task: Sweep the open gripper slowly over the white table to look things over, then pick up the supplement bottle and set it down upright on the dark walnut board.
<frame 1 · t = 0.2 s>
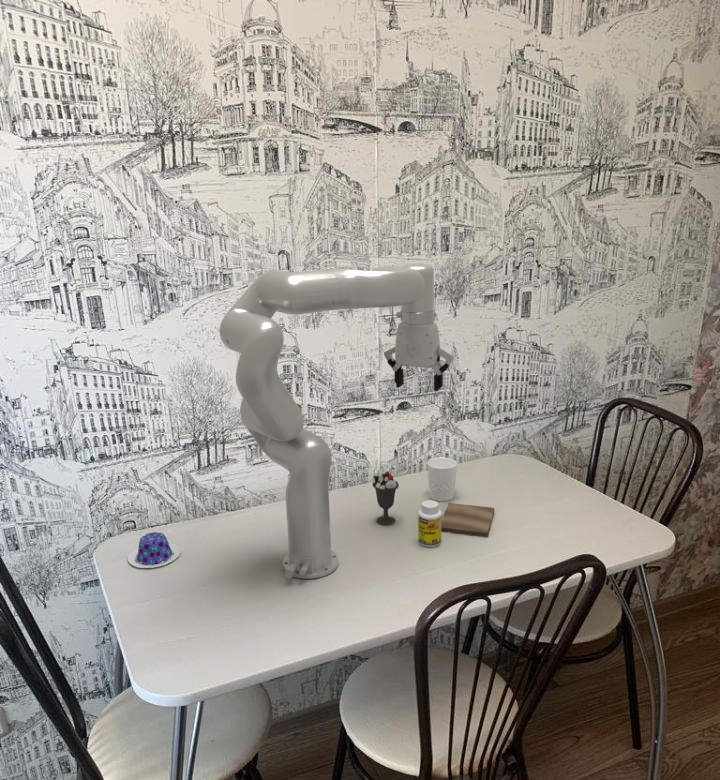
hand: (418, 387, 164), 36 cm above the table, tool pointing down, fingers open, 9 cm apart
supplement bottle: (429, 543, 164), on the table
walnut board: (467, 521, 174), on the table
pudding: (154, 558, 161), on the table
sundae: (386, 521, 175), on the table
white cup: (441, 497, 188), on the table
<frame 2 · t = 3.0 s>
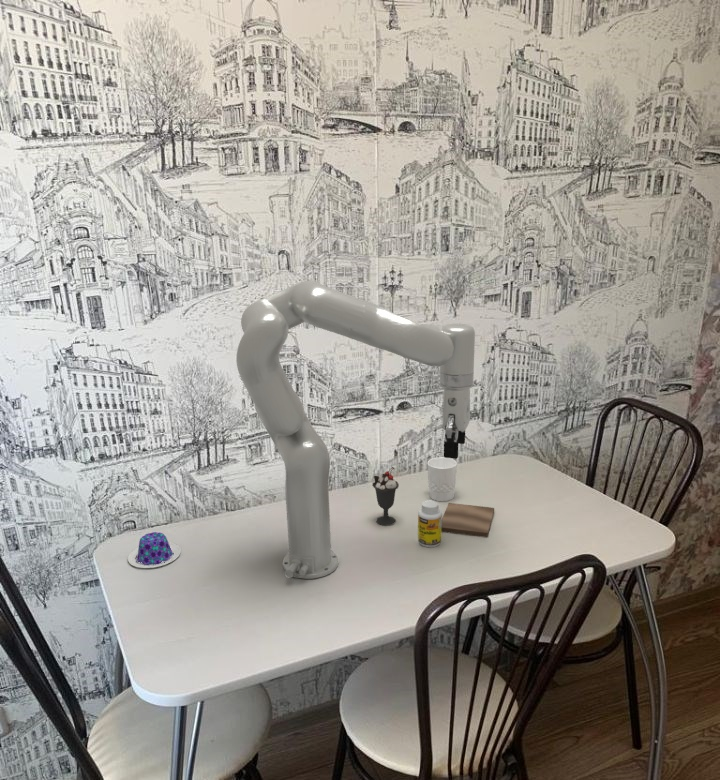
hand: (454, 450, 158), 23 cm above the table, tool pointing down, fingers open, 9 cm apart
nothing on the table moved.
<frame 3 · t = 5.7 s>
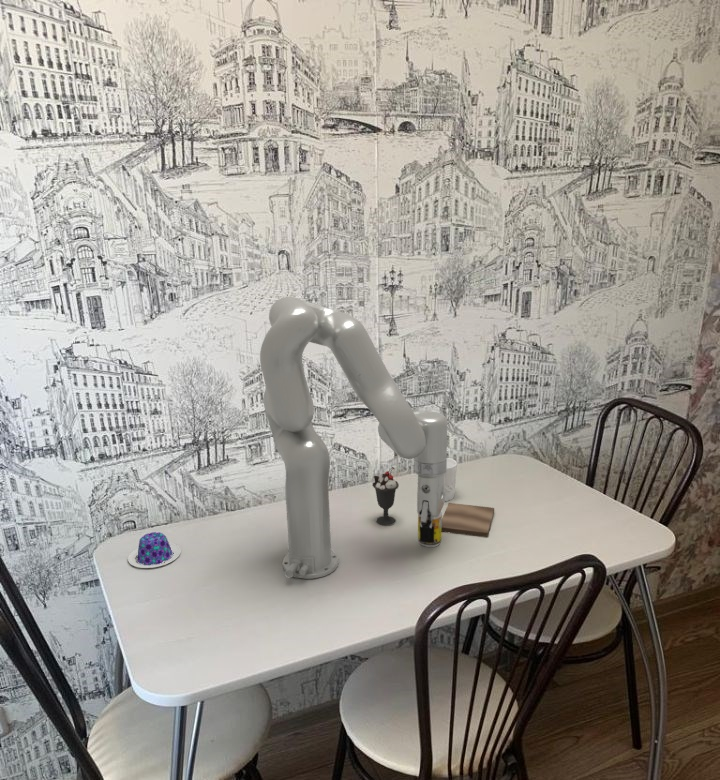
hand: (429, 534, 163), 2 cm above the table, tool pointing down, fingers closed on supplement bottle, 5 cm apart
supplement bottle: (429, 543, 164), on the table, touching gripper
everything else where it was.
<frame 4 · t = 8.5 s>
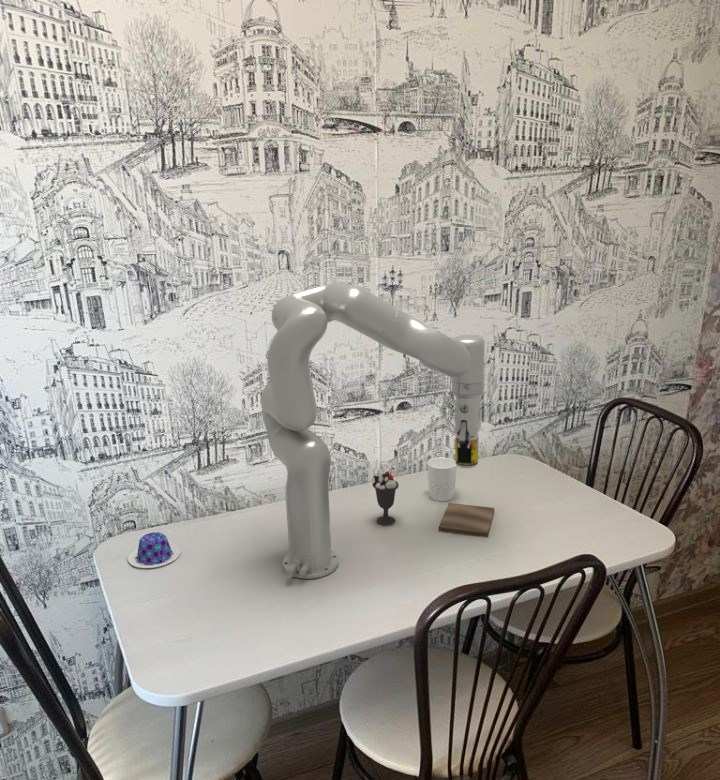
hand: (466, 457, 168), 18 cm above the table, tool pointing down, fingers closed on supplement bottle, 5 cm apart
supplement bottle: (466, 465, 168), point 16 cm above the table, touching gripper
everything else where it was.
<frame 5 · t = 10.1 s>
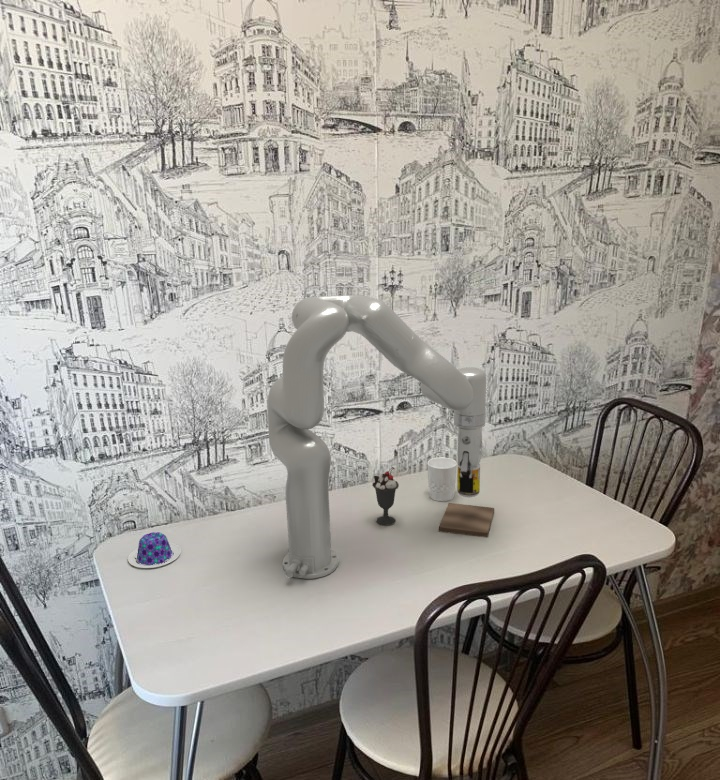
hand: (468, 486, 171), 10 cm above the table, tool pointing down, fingers closed on supplement bottle, 5 cm apart
supplement bottle: (468, 494, 171), point 8 cm above the table, touching gripper
when the fingers open (5 cm above the table, at t = 11.5 s): supplement bottle drops 1 cm, resting on walnut board.
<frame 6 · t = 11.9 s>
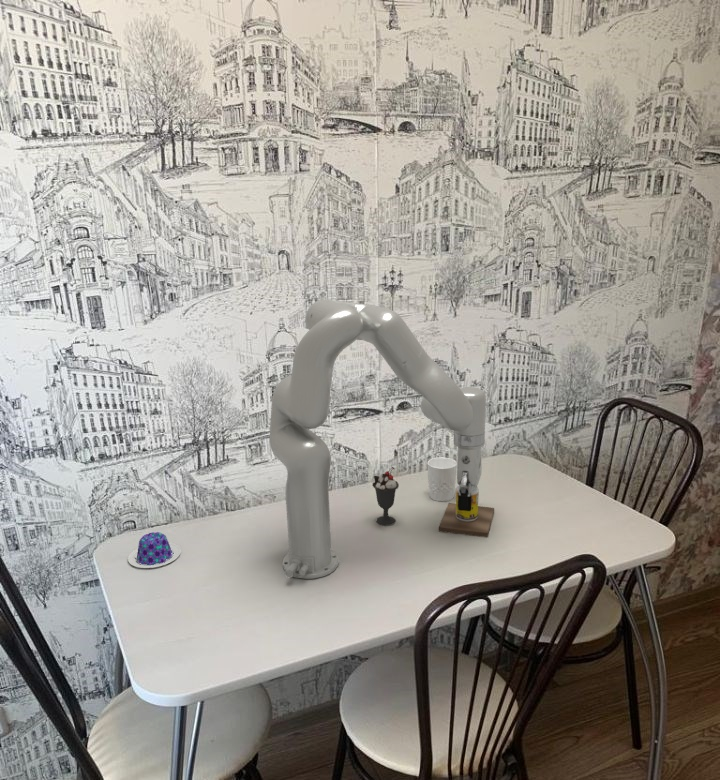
hand: (467, 501, 172), 5 cm above the table, tool pointing down, fingers open, 9 cm apart
supplement bottle: (466, 518, 173), point 1 cm above the table, touching walnut board
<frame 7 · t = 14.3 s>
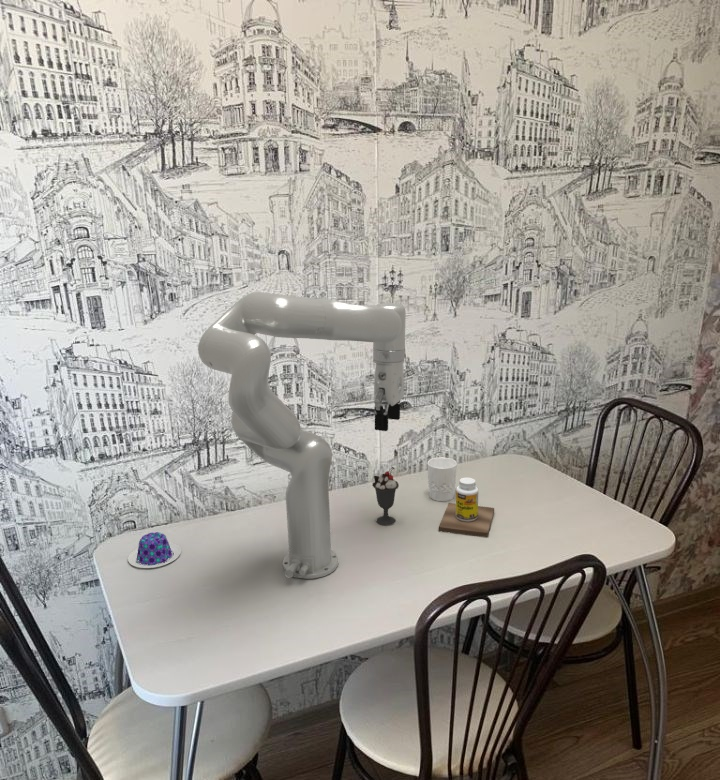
hand: (387, 424, 166), 27 cm above the table, tool pointing down, fingers open, 9 cm apart
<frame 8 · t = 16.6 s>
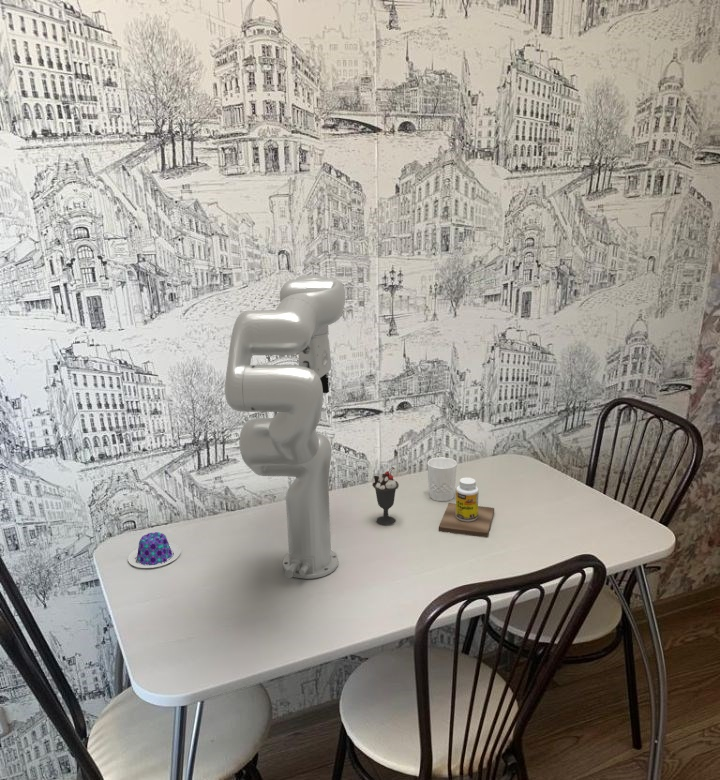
hand: (315, 398, 166), 33 cm above the table, tool pointing down, fingers open, 9 cm apart
at the end: supplement bottle inside the target area on the walnut board (0.3 cm from its centre), point 1.0 cm above the walnut board's base; supplement bottle tilted 0°; the gripper is holding nothing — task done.
